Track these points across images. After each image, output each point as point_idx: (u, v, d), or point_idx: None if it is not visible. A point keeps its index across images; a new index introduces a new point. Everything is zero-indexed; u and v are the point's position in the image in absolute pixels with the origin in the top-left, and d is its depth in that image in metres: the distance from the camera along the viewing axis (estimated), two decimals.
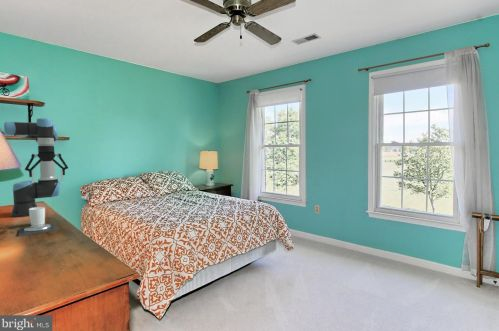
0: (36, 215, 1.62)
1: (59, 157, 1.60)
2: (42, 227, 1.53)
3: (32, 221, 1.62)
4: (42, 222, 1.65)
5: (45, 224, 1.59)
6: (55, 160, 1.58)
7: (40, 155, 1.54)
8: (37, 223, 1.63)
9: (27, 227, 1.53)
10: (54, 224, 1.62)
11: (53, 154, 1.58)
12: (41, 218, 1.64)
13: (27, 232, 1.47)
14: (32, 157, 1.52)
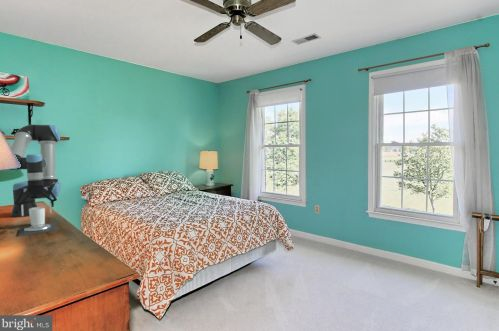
0: (36, 215, 1.62)
1: (48, 190, 1.67)
2: (42, 227, 1.53)
3: (32, 221, 1.62)
4: (42, 222, 1.65)
5: (45, 224, 1.59)
6: (44, 193, 1.66)
7: (29, 189, 1.61)
8: (37, 223, 1.63)
9: (27, 227, 1.53)
10: (54, 224, 1.62)
11: (42, 187, 1.65)
12: (41, 218, 1.64)
13: (27, 232, 1.47)
14: (22, 191, 1.59)
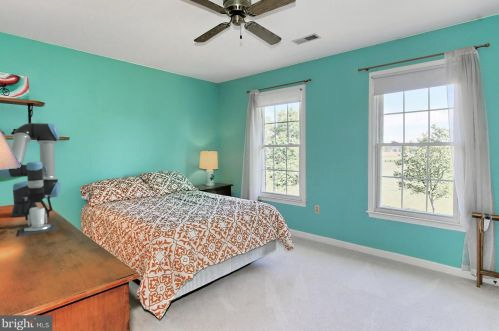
0: (36, 215, 1.62)
1: (47, 199, 1.67)
2: (42, 227, 1.53)
3: (32, 221, 1.62)
4: (42, 222, 1.65)
5: (45, 224, 1.59)
6: (43, 202, 1.65)
7: (30, 197, 1.62)
8: (37, 223, 1.63)
9: (27, 227, 1.53)
10: (54, 224, 1.62)
11: (43, 195, 1.66)
12: (41, 218, 1.64)
13: (27, 232, 1.47)
14: (23, 201, 1.60)
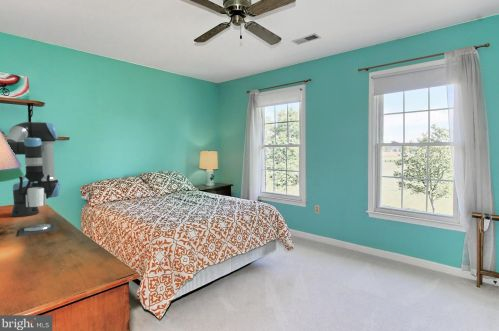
0: (35, 195, 1.49)
1: (47, 178, 1.55)
2: (42, 227, 1.53)
3: (30, 202, 1.49)
4: (41, 203, 1.53)
5: (45, 224, 1.59)
6: (42, 182, 1.53)
7: (28, 175, 1.49)
8: (36, 204, 1.50)
9: (27, 227, 1.53)
10: (54, 224, 1.62)
11: (42, 174, 1.53)
12: (40, 199, 1.52)
13: (27, 232, 1.47)
14: (21, 180, 1.47)
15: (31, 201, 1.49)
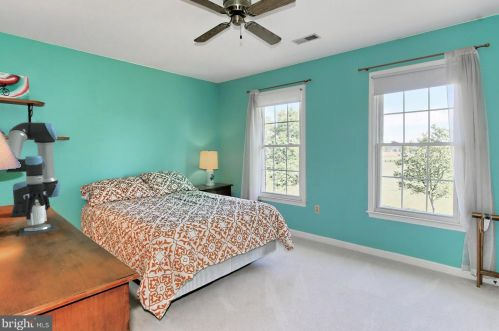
0: (41, 212, 1.52)
1: (46, 195, 1.58)
2: (42, 227, 1.53)
3: (36, 219, 1.51)
4: (44, 220, 1.55)
5: (45, 224, 1.59)
6: (43, 198, 1.55)
7: (32, 194, 1.49)
8: (41, 221, 1.53)
9: (27, 227, 1.53)
10: (54, 224, 1.62)
11: (42, 191, 1.56)
12: (44, 215, 1.55)
13: (27, 232, 1.47)
14: (27, 198, 1.47)
15: (37, 218, 1.51)
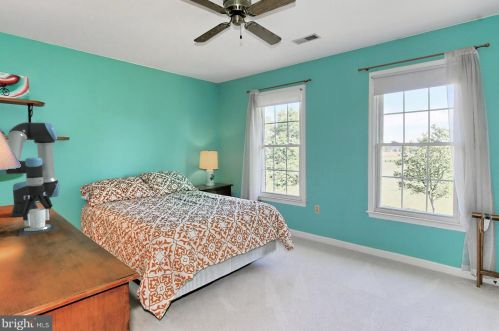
0: (42, 216, 1.53)
1: (46, 196, 1.58)
2: (42, 227, 1.53)
3: (37, 223, 1.51)
4: (44, 223, 1.56)
5: (45, 224, 1.59)
6: (44, 199, 1.56)
7: (32, 195, 1.50)
8: (42, 225, 1.53)
9: (27, 227, 1.53)
10: (54, 224, 1.62)
11: (42, 193, 1.56)
12: None
13: (27, 232, 1.47)
14: (27, 199, 1.46)
15: (38, 222, 1.51)
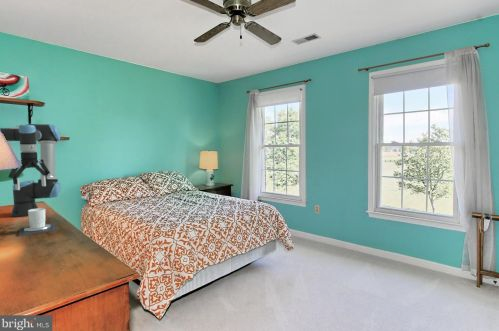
0: (42, 216, 1.53)
1: (42, 163, 1.62)
2: (42, 227, 1.53)
3: (37, 223, 1.51)
4: (44, 223, 1.56)
5: (45, 224, 1.59)
6: None
7: (25, 162, 1.54)
8: (42, 225, 1.53)
9: (27, 227, 1.53)
10: (54, 224, 1.62)
11: (36, 160, 1.59)
12: None
13: (27, 232, 1.47)
14: None
15: (38, 222, 1.51)
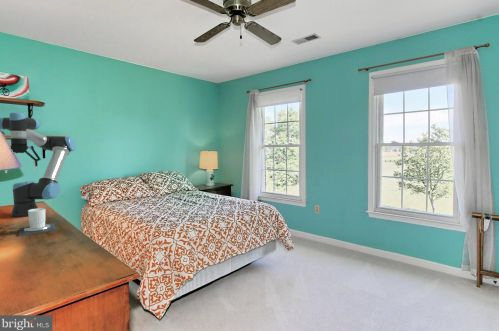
0: (42, 216, 1.53)
1: None
2: (42, 227, 1.53)
3: (37, 223, 1.51)
4: (44, 223, 1.56)
5: (45, 224, 1.59)
6: (27, 152, 1.68)
7: (13, 147, 1.64)
8: (42, 225, 1.53)
9: (27, 227, 1.53)
10: (54, 224, 1.62)
11: (25, 146, 1.68)
12: None
13: (27, 232, 1.47)
14: None
15: (38, 222, 1.51)
